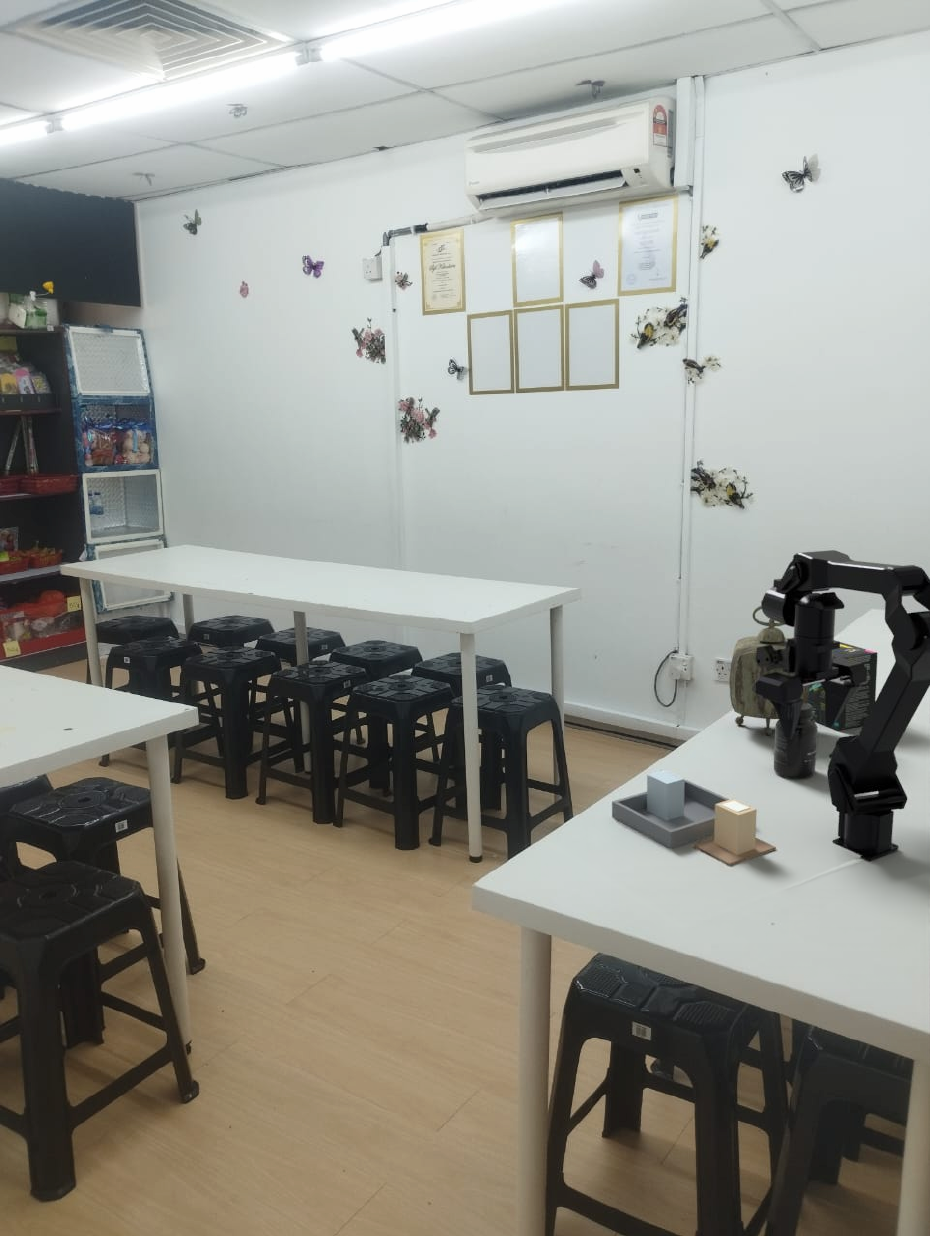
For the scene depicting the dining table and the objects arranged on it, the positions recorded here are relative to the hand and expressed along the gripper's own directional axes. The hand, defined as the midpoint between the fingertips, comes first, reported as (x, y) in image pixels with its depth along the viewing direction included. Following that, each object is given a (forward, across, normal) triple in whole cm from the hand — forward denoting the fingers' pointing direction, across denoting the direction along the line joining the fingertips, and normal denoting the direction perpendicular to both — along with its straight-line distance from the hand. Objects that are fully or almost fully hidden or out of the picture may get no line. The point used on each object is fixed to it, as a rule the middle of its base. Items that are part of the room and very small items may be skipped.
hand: (809, 732), depth 149 cm
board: (+12, +20, +4) cm, 24 cm away
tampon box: (+13, -38, -25) cm, 47 cm away
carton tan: (+12, +20, +4) cm, 24 cm away
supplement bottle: (+13, -10, -11) cm, 20 cm away
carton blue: (+12, +20, -10) cm, 25 cm away
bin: (+12, +20, -7) cm, 25 cm away
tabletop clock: (+13, -22, -28) cm, 38 cm away
